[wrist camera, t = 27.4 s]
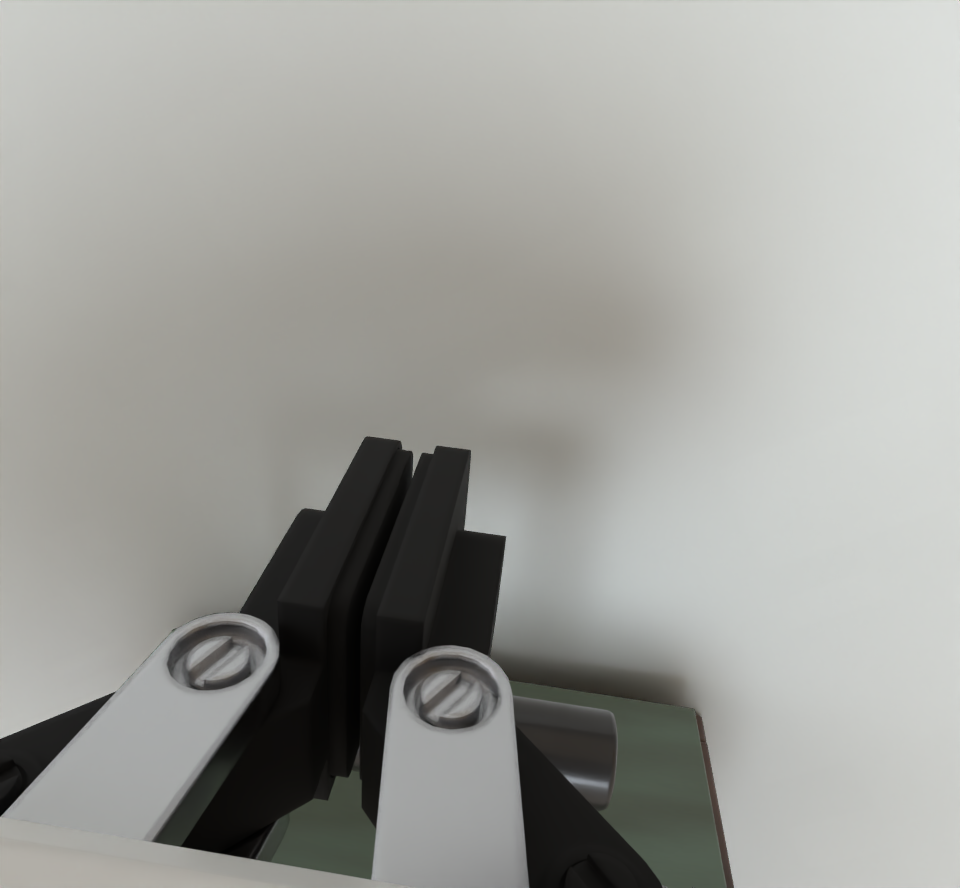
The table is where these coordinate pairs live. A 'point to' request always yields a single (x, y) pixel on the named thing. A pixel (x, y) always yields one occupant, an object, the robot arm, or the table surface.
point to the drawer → (586, 765)
